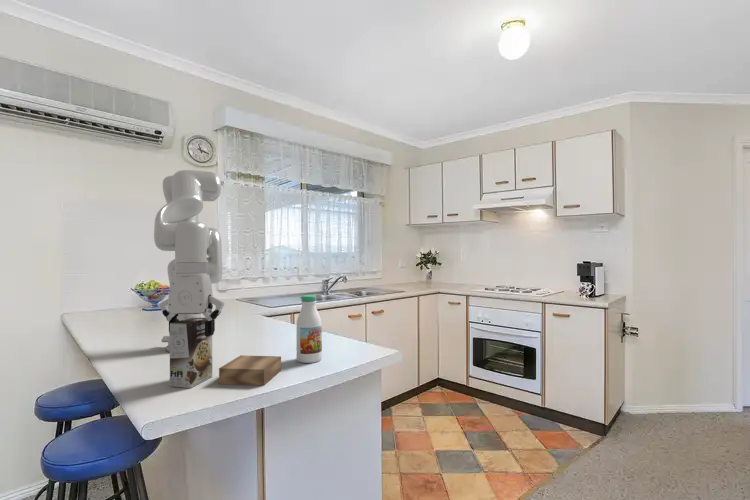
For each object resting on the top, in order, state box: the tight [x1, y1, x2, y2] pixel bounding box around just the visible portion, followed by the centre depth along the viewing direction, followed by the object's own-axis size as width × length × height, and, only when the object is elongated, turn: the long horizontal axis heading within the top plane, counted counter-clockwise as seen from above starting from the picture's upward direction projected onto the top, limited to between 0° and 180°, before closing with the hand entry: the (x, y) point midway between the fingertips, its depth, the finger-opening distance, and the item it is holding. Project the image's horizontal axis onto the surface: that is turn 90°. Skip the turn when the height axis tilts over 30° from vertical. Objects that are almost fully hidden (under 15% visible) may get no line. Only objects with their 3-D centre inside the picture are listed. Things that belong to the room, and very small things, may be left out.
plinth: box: [218, 354, 282, 386], centre depth 104 cm, size 12×12×4 cm
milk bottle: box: [295, 294, 323, 364], centre depth 120 cm, size 8×8×20 cm
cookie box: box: [169, 317, 213, 389], centre depth 101 cm, size 9×6×16 cm
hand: (191, 335), depth 100 cm, fingers open, 9 cm apart
